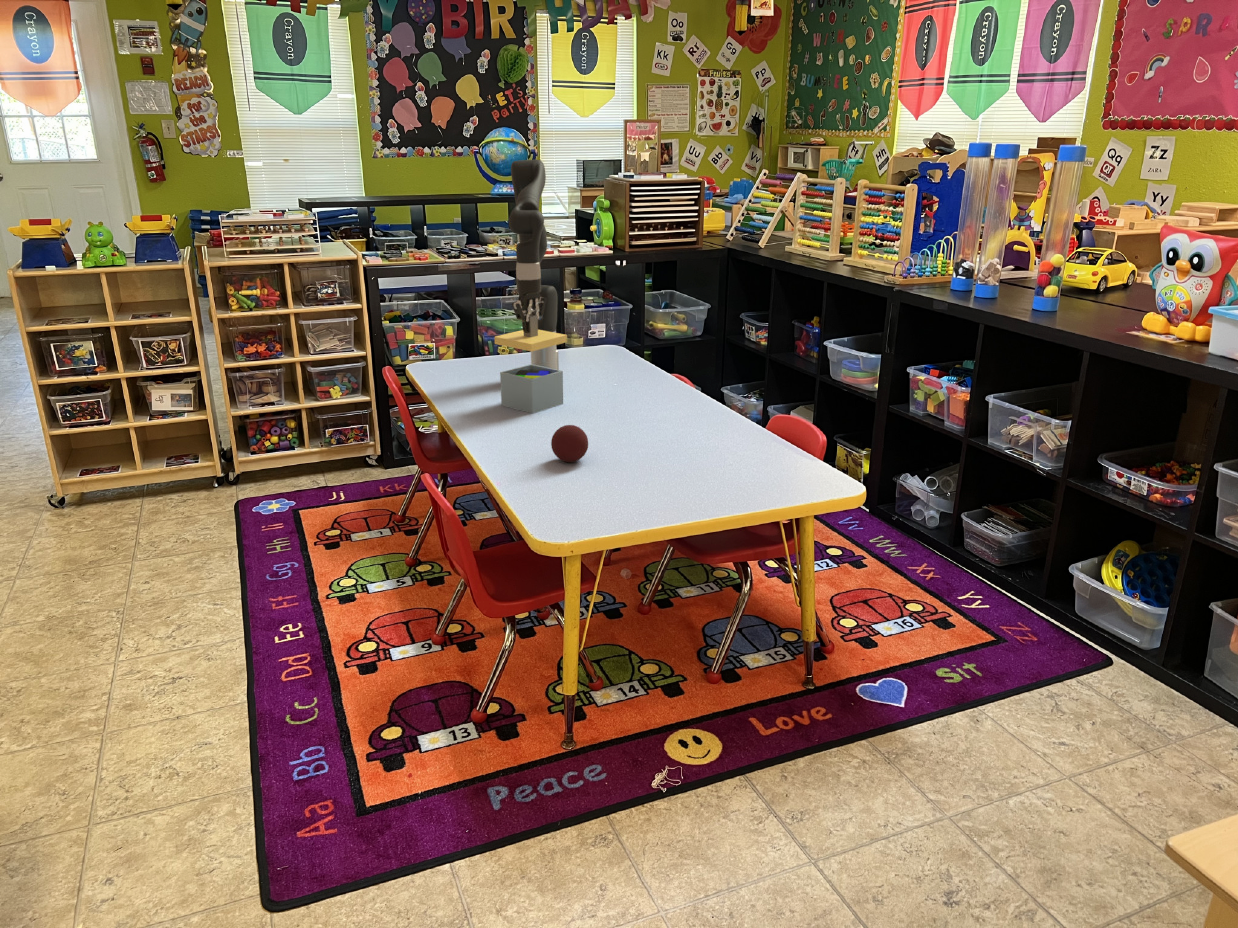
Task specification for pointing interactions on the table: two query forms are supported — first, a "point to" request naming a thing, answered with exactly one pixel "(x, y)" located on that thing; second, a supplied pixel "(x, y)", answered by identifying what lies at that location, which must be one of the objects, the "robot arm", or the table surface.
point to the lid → (531, 338)
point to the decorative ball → (569, 443)
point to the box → (531, 389)
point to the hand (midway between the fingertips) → (530, 331)
